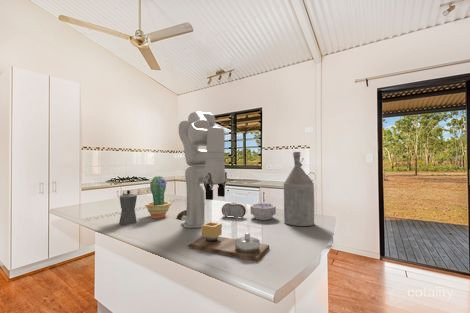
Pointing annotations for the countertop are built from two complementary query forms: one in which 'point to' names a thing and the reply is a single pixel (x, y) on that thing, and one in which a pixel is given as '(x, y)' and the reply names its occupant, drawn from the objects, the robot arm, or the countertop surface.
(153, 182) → the potted cactus
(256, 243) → the hub
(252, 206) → the paper bowls
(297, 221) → the grey bottle
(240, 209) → the tin
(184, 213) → the bread roll
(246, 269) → the countertop surface
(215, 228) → the hollow square block
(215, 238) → the round drawer knob
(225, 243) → the board
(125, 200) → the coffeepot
